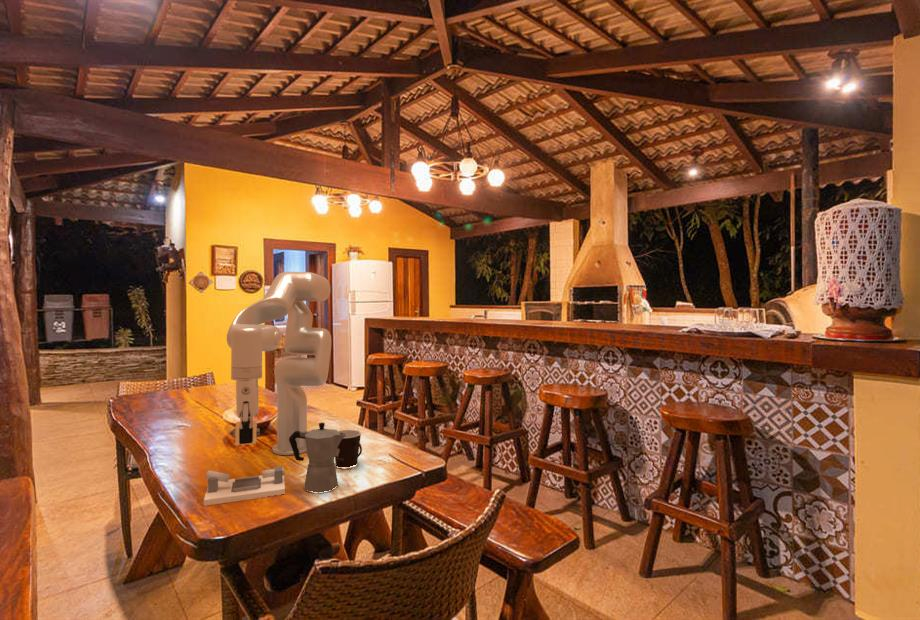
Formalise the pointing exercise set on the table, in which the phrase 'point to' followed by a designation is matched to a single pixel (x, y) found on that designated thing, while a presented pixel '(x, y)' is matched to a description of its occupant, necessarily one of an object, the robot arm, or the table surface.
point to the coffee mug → (348, 449)
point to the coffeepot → (319, 457)
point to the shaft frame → (243, 486)
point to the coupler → (255, 432)
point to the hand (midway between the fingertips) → (246, 439)
